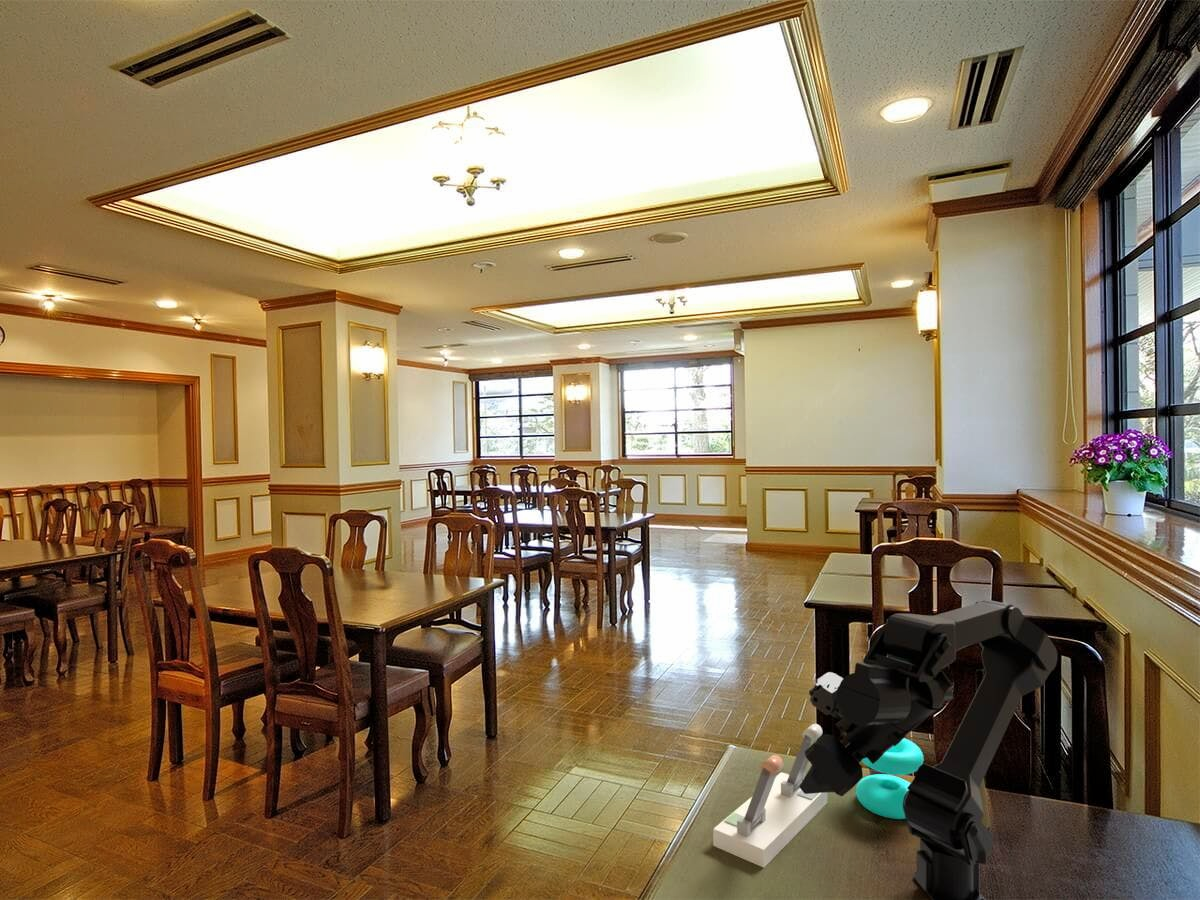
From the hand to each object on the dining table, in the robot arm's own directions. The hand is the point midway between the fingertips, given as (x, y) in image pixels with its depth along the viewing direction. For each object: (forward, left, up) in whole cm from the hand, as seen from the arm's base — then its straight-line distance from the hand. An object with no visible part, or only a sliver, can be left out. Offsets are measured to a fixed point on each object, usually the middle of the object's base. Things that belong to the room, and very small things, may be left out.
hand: (818, 775), depth 93 cm
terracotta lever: (+7, -7, -10) cm, 14 cm away
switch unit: (+3, -12, -13) cm, 18 cm away
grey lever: (-2, -17, -10) cm, 20 cm away
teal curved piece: (-17, -16, -13) cm, 27 cm away
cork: (-27, -11, -13) cm, 32 cm away
